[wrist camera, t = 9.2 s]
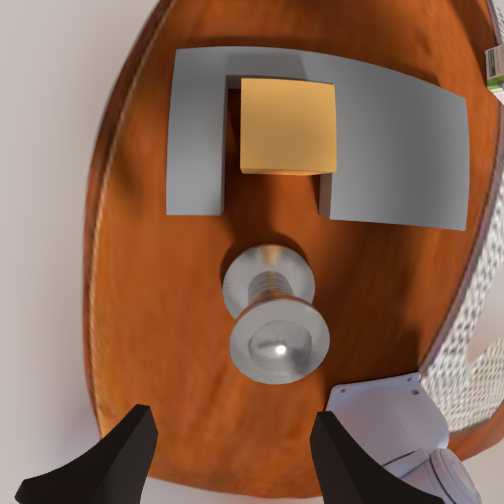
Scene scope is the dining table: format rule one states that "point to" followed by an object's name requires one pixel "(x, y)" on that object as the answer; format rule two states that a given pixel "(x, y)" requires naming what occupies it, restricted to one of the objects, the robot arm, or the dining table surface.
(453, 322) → the dining table surface
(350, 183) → the board
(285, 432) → the dining table surface
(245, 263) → the bobbin post
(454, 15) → the dining table surface
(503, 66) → the syrup box
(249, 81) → the tab block
